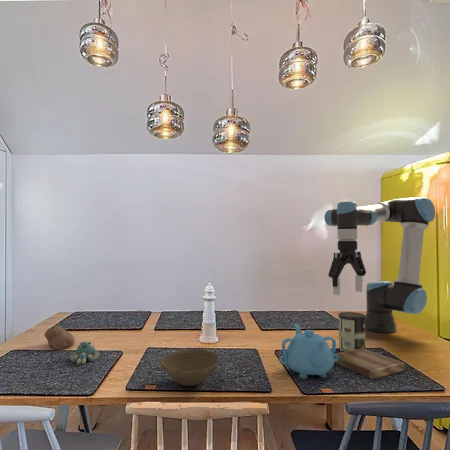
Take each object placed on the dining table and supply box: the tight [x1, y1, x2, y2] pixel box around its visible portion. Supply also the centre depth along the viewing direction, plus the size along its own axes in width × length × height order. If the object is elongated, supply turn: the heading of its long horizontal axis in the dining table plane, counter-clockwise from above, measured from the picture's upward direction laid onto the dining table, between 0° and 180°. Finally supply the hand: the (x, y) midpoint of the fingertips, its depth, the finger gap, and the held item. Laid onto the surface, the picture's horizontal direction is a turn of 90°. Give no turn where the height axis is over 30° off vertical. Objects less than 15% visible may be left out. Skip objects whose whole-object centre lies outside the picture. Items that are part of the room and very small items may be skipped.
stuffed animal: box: [68, 341, 100, 365], centre depth 133 cm, size 11×7×12 cm
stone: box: [44, 324, 76, 351], centre depth 149 cm, size 12×9×10 cm
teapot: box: [279, 323, 338, 380], centre depth 122 cm, size 16×20×14 cm
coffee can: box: [337, 311, 366, 352], centre depth 145 cm, size 10×10×14 cm
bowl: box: [159, 349, 220, 387], centre depth 112 cm, size 18×18×8 cm
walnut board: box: [333, 348, 406, 380], centre depth 127 cm, size 16×18×2 cm
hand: (348, 293), depth 144 cm, fingers open, 13 cm apart
